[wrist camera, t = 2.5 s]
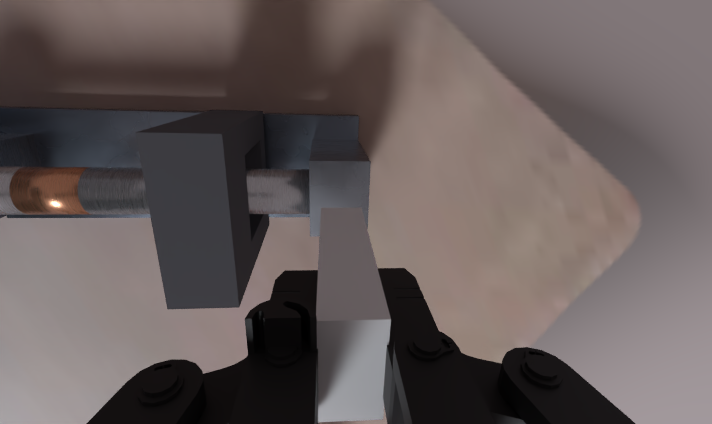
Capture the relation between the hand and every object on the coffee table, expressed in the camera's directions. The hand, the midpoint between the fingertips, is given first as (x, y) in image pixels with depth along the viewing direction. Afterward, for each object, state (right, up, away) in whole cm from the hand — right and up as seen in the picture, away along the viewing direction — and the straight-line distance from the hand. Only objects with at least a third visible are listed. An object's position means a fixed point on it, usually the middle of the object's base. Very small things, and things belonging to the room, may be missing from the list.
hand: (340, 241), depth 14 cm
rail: (-11, +4, +10) cm, 16 cm away
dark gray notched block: (-7, +4, +9) cm, 12 cm away
